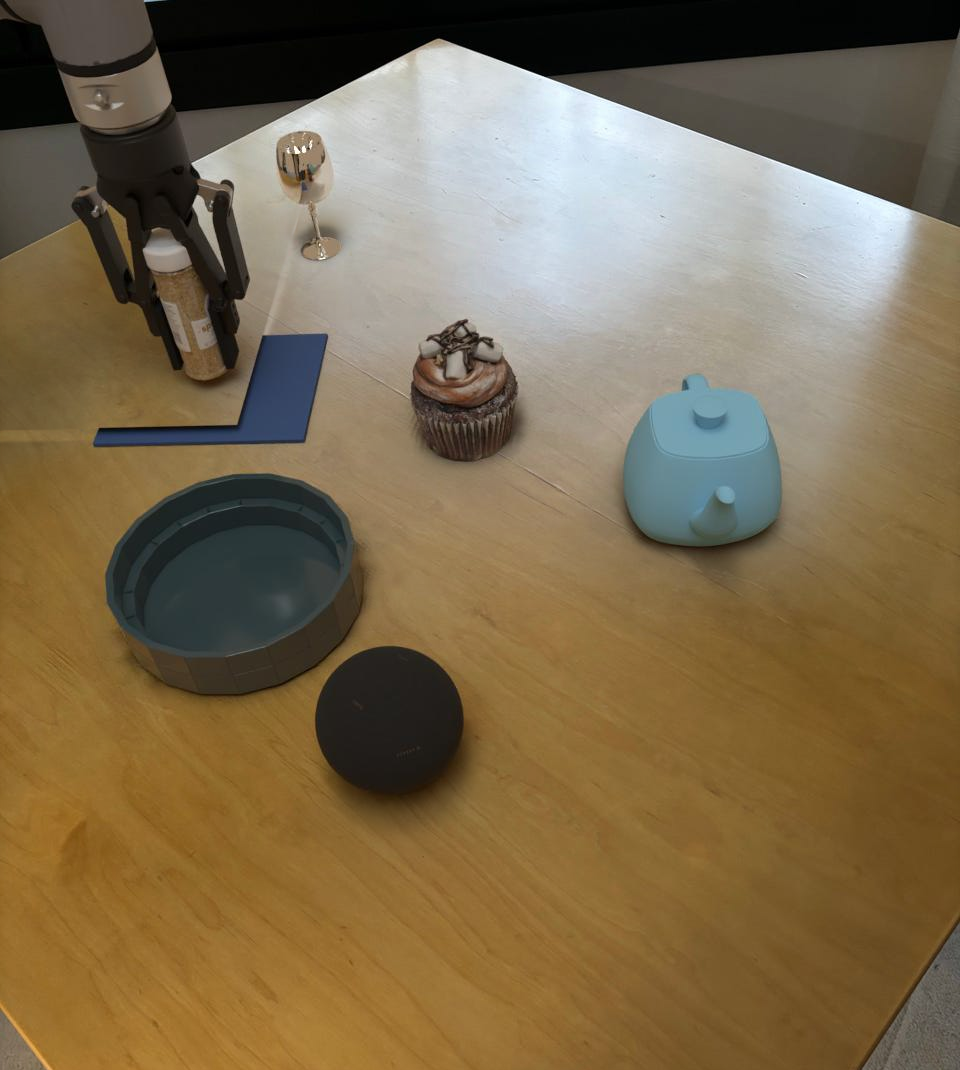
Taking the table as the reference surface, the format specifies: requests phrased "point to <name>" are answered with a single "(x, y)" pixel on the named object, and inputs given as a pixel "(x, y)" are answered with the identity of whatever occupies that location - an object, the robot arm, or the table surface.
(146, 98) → the robot arm
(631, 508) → the teapot
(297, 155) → the wineglass
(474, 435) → the cupcake
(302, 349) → the blue l-shaped plate
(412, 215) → the table surface
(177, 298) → the sprinkles bottle
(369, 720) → the speaker
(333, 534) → the bowl
